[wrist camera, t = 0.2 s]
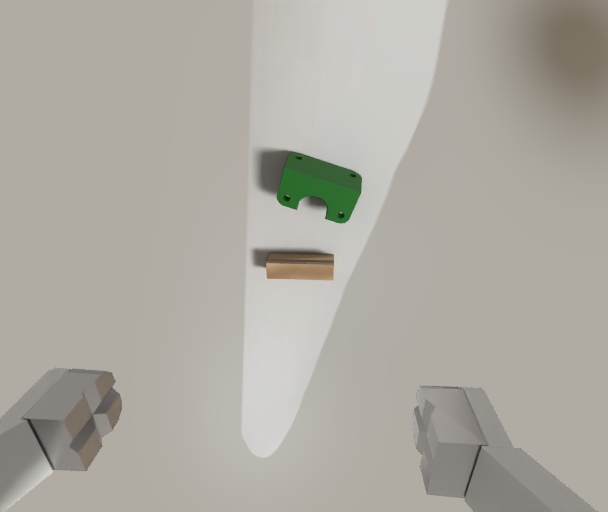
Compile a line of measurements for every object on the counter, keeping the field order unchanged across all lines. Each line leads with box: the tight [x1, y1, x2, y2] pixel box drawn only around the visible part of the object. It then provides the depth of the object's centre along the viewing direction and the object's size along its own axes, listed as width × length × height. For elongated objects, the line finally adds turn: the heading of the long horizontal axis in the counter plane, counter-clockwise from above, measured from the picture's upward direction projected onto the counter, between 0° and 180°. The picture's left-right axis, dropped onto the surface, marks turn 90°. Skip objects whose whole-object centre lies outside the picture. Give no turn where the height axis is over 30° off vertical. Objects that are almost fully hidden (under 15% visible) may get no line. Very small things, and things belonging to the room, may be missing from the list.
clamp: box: [277, 153, 362, 223], centre depth 52 cm, size 12×6×9 cm, turn 67°
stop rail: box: [266, 253, 334, 280], centre depth 59 cm, size 3×11×4 cm, turn 90°
